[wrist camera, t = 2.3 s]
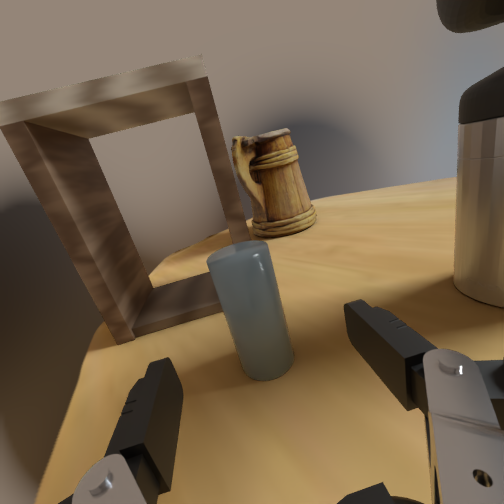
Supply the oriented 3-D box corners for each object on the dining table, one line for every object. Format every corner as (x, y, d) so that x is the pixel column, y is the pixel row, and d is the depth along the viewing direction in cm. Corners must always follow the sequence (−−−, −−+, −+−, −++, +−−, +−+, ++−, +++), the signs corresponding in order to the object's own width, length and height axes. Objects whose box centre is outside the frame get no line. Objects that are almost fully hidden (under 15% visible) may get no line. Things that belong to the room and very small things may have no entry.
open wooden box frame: (252, 265, 49) (205, 94, 39) (266, 299, 36) (201, 54, 26) (143, 297, 48) (66, 128, 38) (117, 344, 35) (-13, 104, 24)
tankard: (326, 214, 71) (312, 120, 63) (292, 245, 54) (267, 122, 46) (273, 218, 82) (255, 139, 74) (230, 246, 65) (201, 147, 56)
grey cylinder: (274, 332, 29) (249, 237, 25) (305, 358, 24) (280, 246, 20) (233, 357, 27) (198, 257, 23) (258, 391, 22) (219, 273, 18)
